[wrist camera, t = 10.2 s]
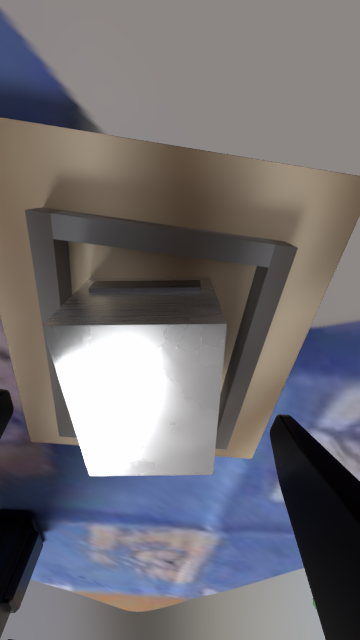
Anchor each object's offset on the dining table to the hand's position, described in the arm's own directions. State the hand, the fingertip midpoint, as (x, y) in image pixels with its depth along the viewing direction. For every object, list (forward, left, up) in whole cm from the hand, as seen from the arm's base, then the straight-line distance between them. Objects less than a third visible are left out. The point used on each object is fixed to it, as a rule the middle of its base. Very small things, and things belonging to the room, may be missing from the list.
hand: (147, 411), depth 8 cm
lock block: (0, 0, -4) cm, 4 cm away
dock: (0, 0, -5) cm, 5 cm away
